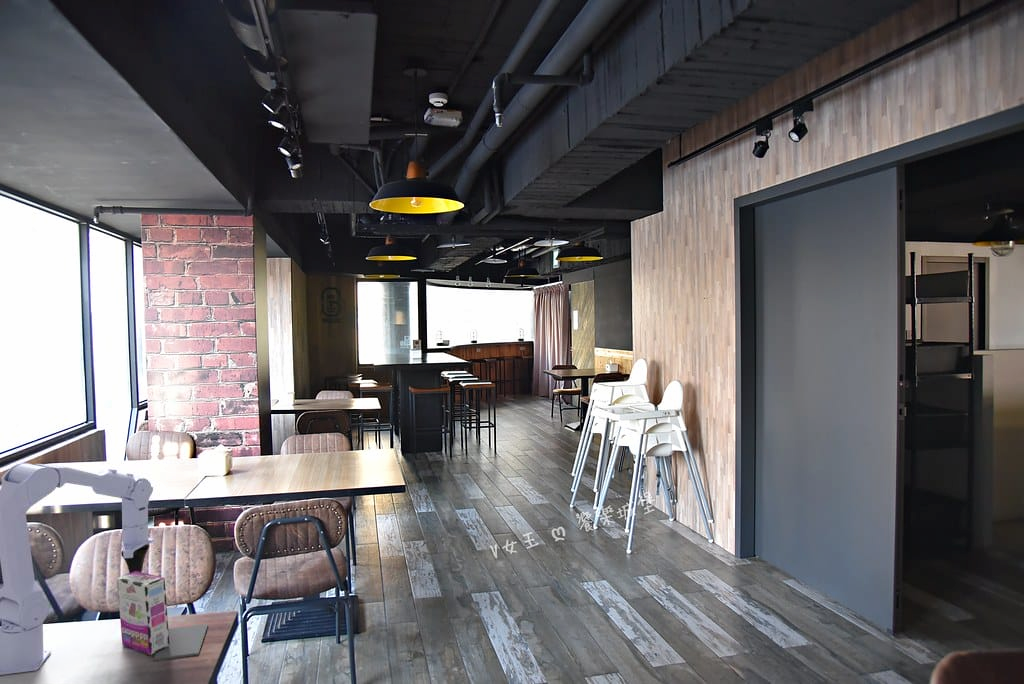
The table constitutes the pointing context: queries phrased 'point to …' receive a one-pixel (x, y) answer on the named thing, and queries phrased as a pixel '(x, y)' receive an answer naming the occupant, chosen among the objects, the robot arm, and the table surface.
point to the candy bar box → (143, 612)
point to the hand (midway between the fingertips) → (135, 575)
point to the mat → (183, 642)
